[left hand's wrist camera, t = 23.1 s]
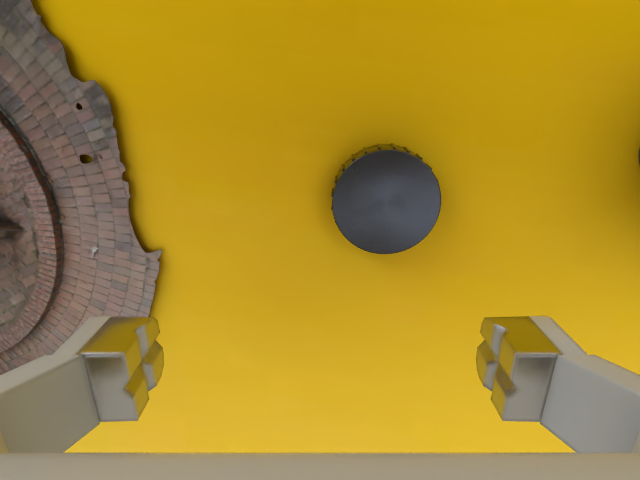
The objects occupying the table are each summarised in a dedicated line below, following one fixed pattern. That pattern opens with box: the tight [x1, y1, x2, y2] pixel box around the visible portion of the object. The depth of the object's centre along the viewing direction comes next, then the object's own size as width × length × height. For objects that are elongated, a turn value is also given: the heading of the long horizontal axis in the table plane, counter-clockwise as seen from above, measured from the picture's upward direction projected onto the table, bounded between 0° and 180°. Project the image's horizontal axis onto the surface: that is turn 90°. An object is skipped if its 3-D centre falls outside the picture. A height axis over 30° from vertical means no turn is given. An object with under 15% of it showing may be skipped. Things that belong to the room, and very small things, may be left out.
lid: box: [331, 144, 441, 254], centre depth 22 cm, size 6×6×2 cm
